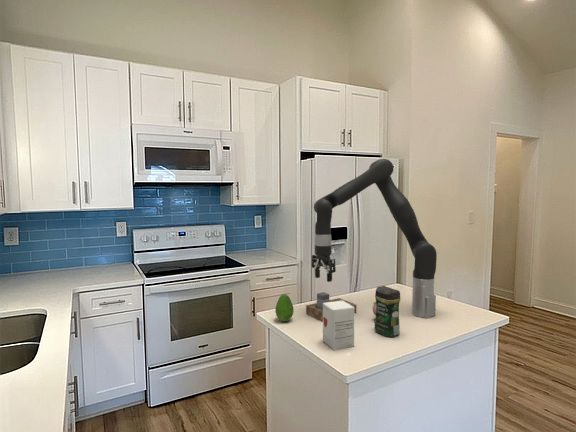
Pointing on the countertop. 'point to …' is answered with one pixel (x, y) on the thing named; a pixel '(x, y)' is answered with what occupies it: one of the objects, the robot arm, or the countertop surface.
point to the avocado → (284, 308)
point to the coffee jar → (387, 311)
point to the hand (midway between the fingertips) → (323, 279)
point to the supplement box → (338, 324)
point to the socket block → (318, 313)
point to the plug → (322, 299)
